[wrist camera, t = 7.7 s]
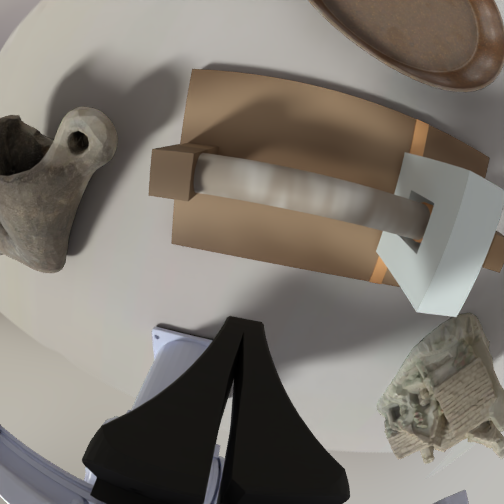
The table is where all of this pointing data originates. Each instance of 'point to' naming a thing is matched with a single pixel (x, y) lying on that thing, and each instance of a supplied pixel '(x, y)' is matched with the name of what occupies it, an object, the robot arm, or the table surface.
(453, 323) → the ceramic cottage
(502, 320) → the table surface
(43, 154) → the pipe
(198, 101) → the rod stand
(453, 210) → the collar
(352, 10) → the plant saucer
